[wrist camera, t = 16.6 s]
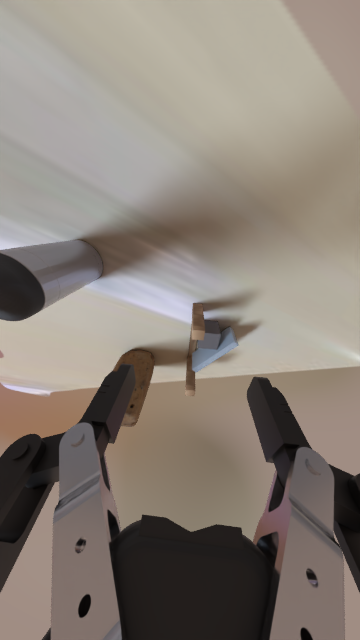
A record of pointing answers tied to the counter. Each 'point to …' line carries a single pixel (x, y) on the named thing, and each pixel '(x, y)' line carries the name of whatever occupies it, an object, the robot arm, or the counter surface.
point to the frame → (194, 345)
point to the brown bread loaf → (137, 382)
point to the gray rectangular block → (210, 335)
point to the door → (209, 355)
